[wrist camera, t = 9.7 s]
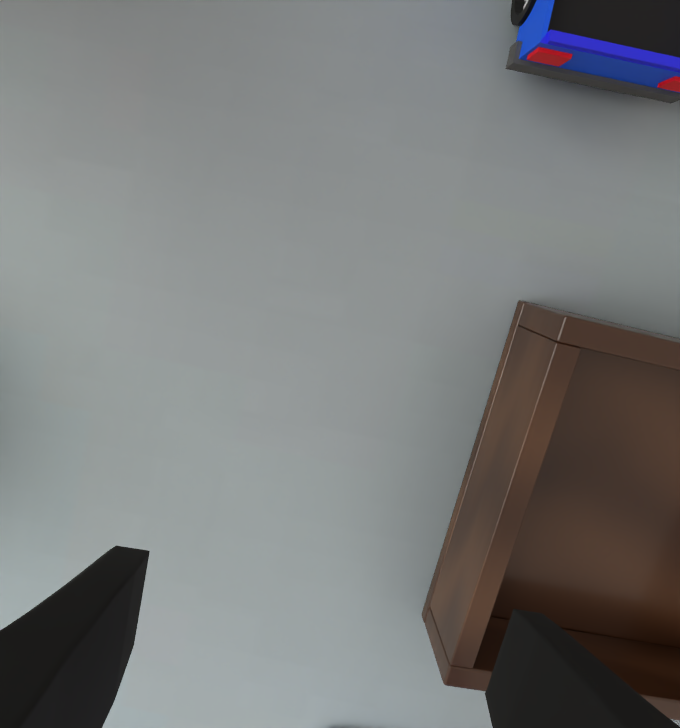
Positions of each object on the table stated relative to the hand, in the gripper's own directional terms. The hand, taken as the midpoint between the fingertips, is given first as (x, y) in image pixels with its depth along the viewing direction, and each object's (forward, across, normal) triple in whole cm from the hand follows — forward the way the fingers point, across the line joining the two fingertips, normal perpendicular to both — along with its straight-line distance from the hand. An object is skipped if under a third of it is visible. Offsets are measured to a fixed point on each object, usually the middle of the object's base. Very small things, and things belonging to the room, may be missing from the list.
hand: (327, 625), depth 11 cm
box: (+9, -11, 0) cm, 15 cm away
